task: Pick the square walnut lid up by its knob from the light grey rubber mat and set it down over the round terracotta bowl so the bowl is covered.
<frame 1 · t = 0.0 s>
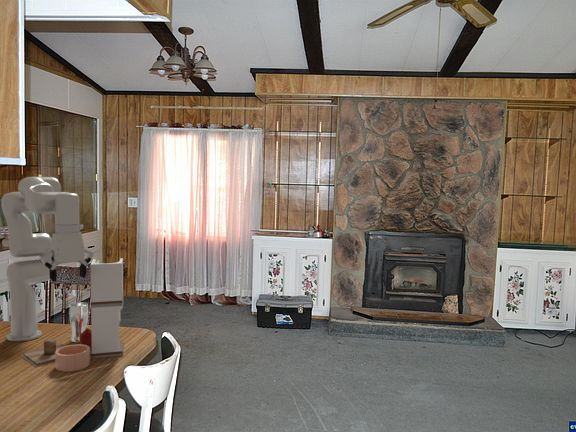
hand: (68, 279, 161), 31 cm above the table, tool pointing down, fingers open, 9 cm apart
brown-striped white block: (108, 352, 178), on the table
lid: (50, 355, 173), resting on mat
beer glass: (79, 341, 191), on the table
mat: (50, 356, 173), on the table
bowl: (73, 366, 164), on the table
onion: (87, 347, 183), on the table
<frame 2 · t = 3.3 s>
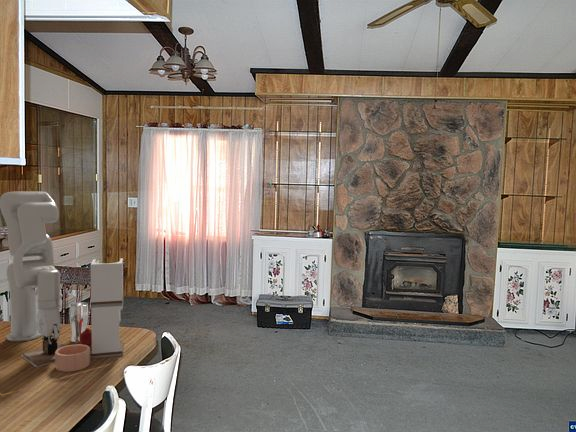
hand: (50, 351, 173), 2 cm above the table, tool pointing down, fingers closed on lid, 4 cm apart
lid: (50, 355, 173), resting on mat, touching gripper
everything else where it was.
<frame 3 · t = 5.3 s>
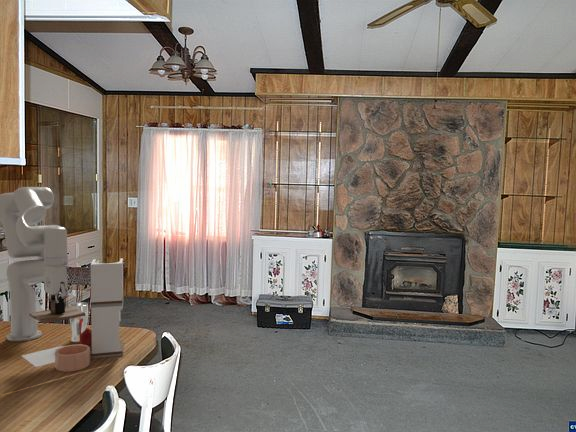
hand: (57, 311, 168), 18 cm above the table, tool pointing down, fingers closed on lid, 4 cm apart
lid: (57, 315, 168), point 16 cm above the table, touching gripper
everything else where it was.
when the fingers open (9 cm above the table, at t = 7.7 s): lid drops 1 cm, resting on bowl.
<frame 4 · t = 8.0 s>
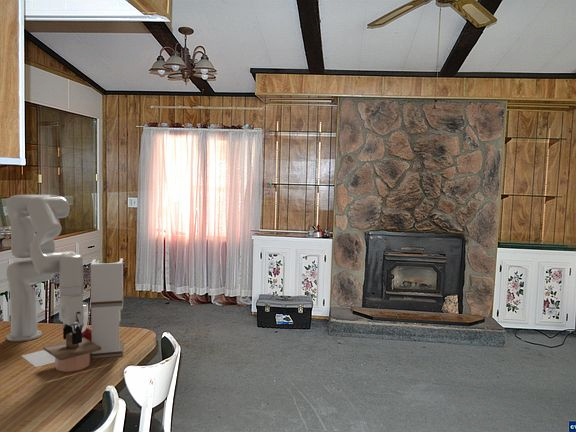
hand: (72, 340, 163), 9 cm above the table, tool pointing down, fingers open, 6 cm apart
lid: (72, 349, 164), point 6 cm above the table, touching bowl
everything else where it was.
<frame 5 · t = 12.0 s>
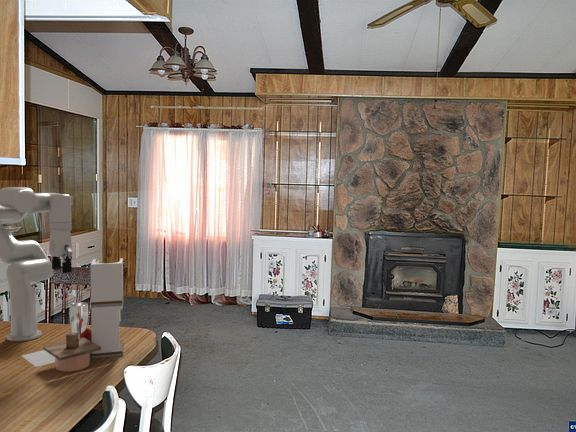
hand: (61, 270, 180), 30 cm above the table, tool pointing down, fingers open, 9 cm apart
nothing on the table moved.
at the end: lid 0.1 cm off-centre on the bowl, point 6.0 cm above the bowl's base; lid tilted 0°; the gripper is holding nothing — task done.
